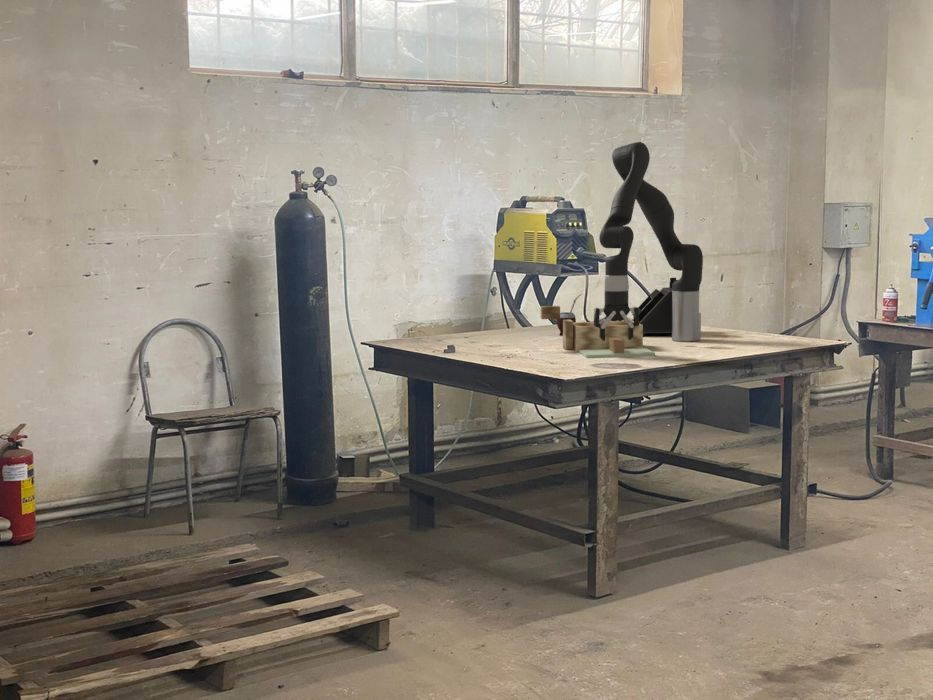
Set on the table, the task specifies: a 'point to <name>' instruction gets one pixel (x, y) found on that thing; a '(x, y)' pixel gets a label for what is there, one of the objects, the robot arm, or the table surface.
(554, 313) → the wooden block
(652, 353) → the lid
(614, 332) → the toolbox
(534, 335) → the table surface
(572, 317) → the mate gourd
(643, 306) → the voltmeter
